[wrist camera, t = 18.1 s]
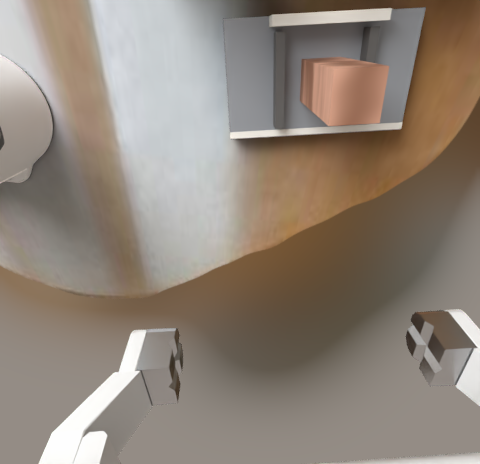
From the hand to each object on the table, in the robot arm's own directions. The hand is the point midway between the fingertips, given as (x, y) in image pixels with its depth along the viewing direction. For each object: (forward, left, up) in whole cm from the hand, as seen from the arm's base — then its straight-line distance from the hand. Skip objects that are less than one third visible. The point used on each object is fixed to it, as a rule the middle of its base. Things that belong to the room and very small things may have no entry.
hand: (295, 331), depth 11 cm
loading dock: (+9, +4, -37) cm, 38 cm away
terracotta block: (+9, +4, -34) cm, 36 cm away
